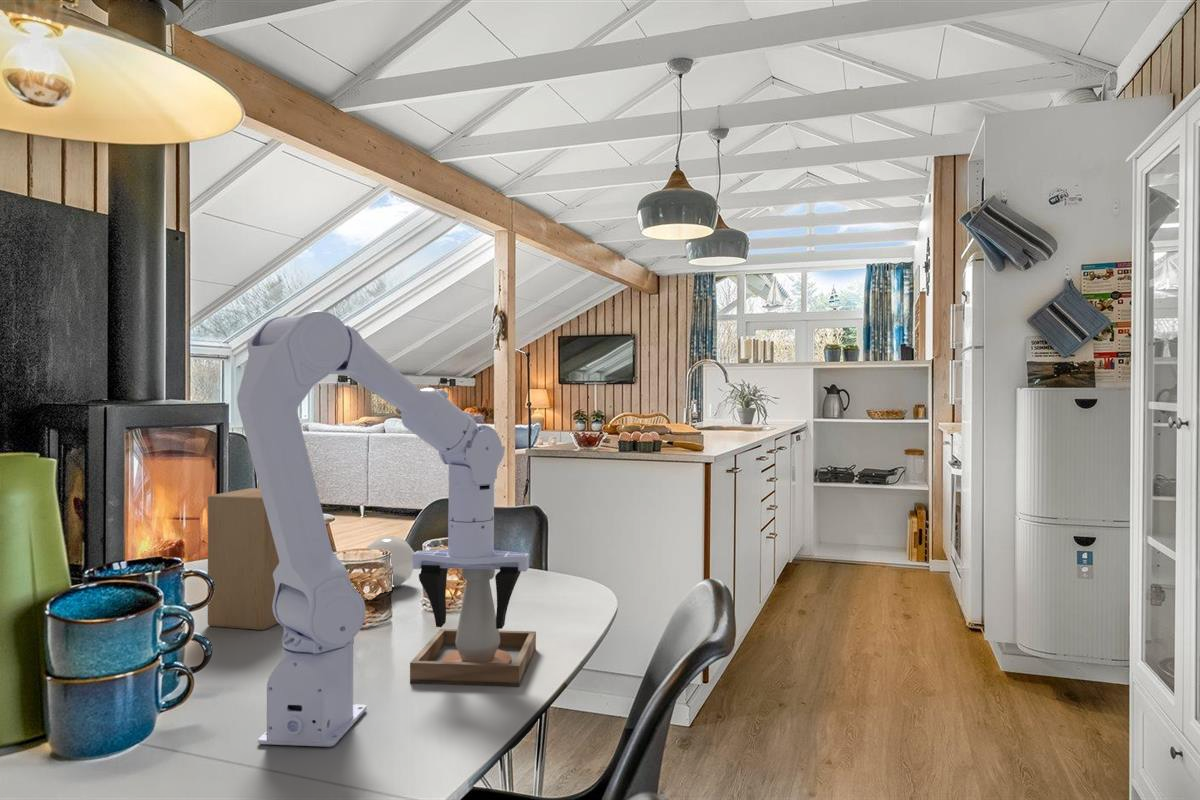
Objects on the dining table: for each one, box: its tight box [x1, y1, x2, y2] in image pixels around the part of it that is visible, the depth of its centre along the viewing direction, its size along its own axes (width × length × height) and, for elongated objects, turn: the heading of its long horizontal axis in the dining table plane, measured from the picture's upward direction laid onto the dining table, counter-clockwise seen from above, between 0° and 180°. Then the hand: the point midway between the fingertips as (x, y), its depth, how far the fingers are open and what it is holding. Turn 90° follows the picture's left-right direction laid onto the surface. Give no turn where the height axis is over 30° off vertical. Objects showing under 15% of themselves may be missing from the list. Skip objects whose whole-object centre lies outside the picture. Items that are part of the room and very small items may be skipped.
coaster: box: [442, 649, 511, 664], centre depth 101 cm, size 9×9×1 cm
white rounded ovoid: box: [366, 535, 415, 589], centre depth 138 cm, size 9×10×15 cm
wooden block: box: [207, 487, 279, 631], centre depth 120 cm, size 10×10×20 cm
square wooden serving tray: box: [409, 628, 537, 688], centre depth 101 cm, size 14×14×2 cm
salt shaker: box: [455, 569, 500, 663], centre depth 100 cm, size 6×6×13 cm
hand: (470, 625), depth 97 cm, fingers open, 7 cm apart
